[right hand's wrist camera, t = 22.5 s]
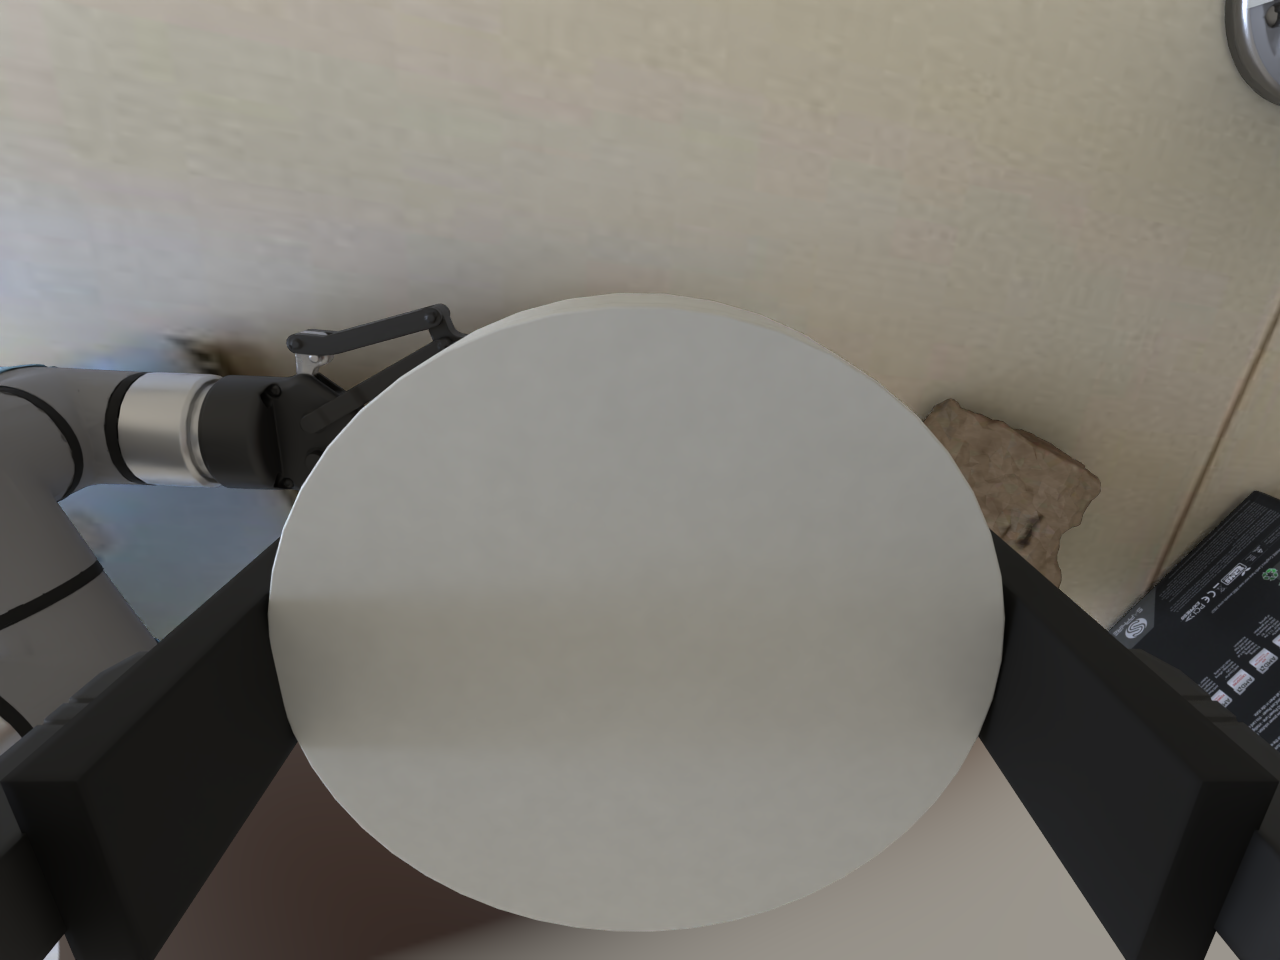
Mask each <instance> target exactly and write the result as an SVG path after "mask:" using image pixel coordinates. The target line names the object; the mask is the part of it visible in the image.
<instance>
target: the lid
mask: <svg viewBox="0 0 1280 960" xmlns="http://www.w3.org/2000/svg"><path fill="white" fill-rule="evenodd" d="M1004 626H1005V613H1004V601H1003V588H1002V576H1001V572H1000V568H999V564H998V560H997V556H996V551H995V547H994V543H993V539H992V535H991V532H990V530H989V527H988V525H987V523H986V520H985V518H984V515H983V513H982V511H981V508H980V506H979V504H978V501H977V499H976V497H975V494H974V492H973V490H972V489H971V487H970V485H969V484H968V482H967V481H966V479H965V477H964V476H963V474H962V473H961V471H960V469H959V468H958V466H957V465H956V463H955V461H954V460H953V458H952V457H951V455H950V453H949V452H948V451H947V449H946V448H945V447H944V446H943V445H942V444H941V443H940V441H939V440H938V439H937V438H936V437H935V436H934V434H933V433H932V432H931V431H930V430H929V429H928V428H927V426H926V425H925V424H924V423H923V422H922V421H921V419H920V418H919V417H918V416H917V415H916V414H915V413H914V412H913V411H912V410H910V409H909V408H908V407H907V406H906V405H905V404H903V403H902V402H901V401H900V400H899V399H897V398H896V397H895V396H894V395H893V394H892V393H890V392H889V391H888V390H887V389H886V388H885V387H883V386H882V385H881V384H880V383H879V382H878V381H876V380H875V379H873V378H872V377H870V376H869V375H867V374H866V373H864V372H863V371H861V370H860V369H858V368H857V367H855V366H854V365H852V364H851V363H849V362H848V361H846V360H845V359H843V358H841V357H840V356H838V355H837V354H835V353H834V352H832V351H830V350H829V349H827V348H826V347H824V346H822V345H821V344H819V343H818V342H816V341H814V340H813V339H811V338H810V337H808V336H806V335H805V334H803V333H801V332H799V331H797V330H794V329H792V328H790V327H788V326H785V325H783V324H781V323H779V322H776V321H774V320H772V319H770V318H767V317H765V316H763V315H761V314H758V313H754V312H751V311H748V310H744V309H741V308H737V307H734V306H730V305H727V304H723V303H720V302H716V301H713V300H706V299H699V298H692V297H685V296H678V295H671V294H665V293H611V294H603V295H596V296H588V297H580V298H572V299H565V300H561V301H558V302H554V303H550V304H547V305H543V306H539V307H535V308H532V309H528V310H524V311H521V312H518V313H515V314H513V315H511V316H508V317H506V318H504V319H501V320H499V321H497V322H494V323H492V324H489V325H487V326H485V327H482V328H480V329H478V330H475V331H474V332H472V333H470V334H469V335H467V336H465V337H464V338H462V339H460V340H459V341H457V342H455V343H454V344H452V345H450V346H449V347H447V348H445V349H444V350H442V351H441V352H439V353H437V354H436V355H434V356H432V357H431V358H429V359H428V360H426V361H425V362H423V363H422V364H420V365H418V366H417V367H415V368H414V369H412V370H411V371H409V372H408V373H406V374H404V375H403V376H401V377H400V378H399V379H398V380H396V381H395V382H394V383H393V384H391V385H390V386H389V387H388V388H387V389H385V390H384V391H383V392H382V393H380V394H379V395H378V396H377V397H376V398H374V399H373V400H372V401H371V402H370V403H368V404H367V405H366V406H365V407H363V408H362V409H361V410H360V411H359V412H358V413H357V414H356V416H355V417H354V418H353V419H352V420H351V421H350V422H349V423H348V424H347V426H346V427H345V428H344V429H343V430H342V431H341V432H340V433H339V434H338V436H337V437H336V438H335V439H334V440H333V441H332V442H331V443H330V444H329V446H328V447H327V448H326V450H325V451H324V453H323V454H322V456H321V457H320V459H319V461H318V462H317V464H316V465H315V467H314V468H313V470H312V471H311V473H310V474H309V476H308V477H307V479H306V481H305V482H304V484H303V485H302V487H301V489H300V491H299V494H298V496H297V498H296V500H295V503H294V505H293V507H292V509H291V512H290V514H289V516H288V518H287V521H286V523H285V525H284V527H283V531H282V534H281V538H280V542H279V546H278V550H277V553H276V557H275V561H274V565H273V569H272V575H271V585H270V596H269V606H268V627H269V638H270V644H271V649H272V654H273V658H274V662H275V667H276V671H277V676H278V680H279V685H280V689H281V693H282V698H283V702H284V707H285V710H286V714H287V718H288V721H289V723H290V726H291V729H292V731H293V733H294V735H295V737H296V739H297V741H298V742H299V744H300V746H301V748H302V750H303V752H304V754H305V755H306V757H307V759H308V761H309V763H310V765H311V766H312V768H313V769H314V771H315V772H316V773H317V775H318V776H319V777H320V779H321V780H322V782H323V783H324V784H325V786H326V787H327V788H328V790H329V791H330V793H331V794H332V795H333V797H334V798H335V799H336V800H337V801H338V803H339V804H340V805H341V806H342V807H343V808H344V809H345V810H346V811H347V812H348V813H349V814H350V815H351V816H352V817H353V818H354V820H355V821H356V822H357V823H358V824H359V825H360V826H361V827H362V828H363V829H364V830H365V831H367V832H368V833H369V834H370V835H372V836H373V837H374V838H375V839H376V840H377V841H379V842H380V843H381V844H382V845H383V846H385V847H386V848H387V849H388V850H389V851H390V852H392V853H393V854H395V855H396V856H398V857H399V858H400V859H402V860H403V861H405V862H406V863H408V864H409V865H411V866H412V867H414V868H416V869H417V870H418V871H420V872H421V873H423V874H424V875H426V876H428V877H430V878H432V879H434V880H436V881H437V882H439V883H441V884H443V885H445V886H447V887H449V888H451V889H453V890H455V891H456V892H458V893H460V894H463V895H465V896H468V897H470V898H473V899H475V900H478V901H480V902H483V903H485V904H488V905H490V906H493V907H495V908H498V909H501V910H505V911H508V912H511V913H515V914H518V915H522V916H525V917H528V918H532V919H535V920H540V921H545V922H550V923H556V924H561V925H566V926H572V927H578V928H588V929H598V930H608V931H663V930H675V929H687V928H696V927H702V926H707V925H713V924H718V923H724V922H729V921H734V920H738V919H741V918H745V917H748V916H752V915H756V914H759V913H763V912H766V911H770V910H773V909H775V908H778V907H781V906H783V905H786V904H788V903H791V902H793V901H796V900H799V899H801V898H804V897H806V896H809V895H811V894H813V893H815V892H817V891H819V890H821V889H822V888H824V887H826V886H828V885H830V884H832V883H834V882H836V881H838V880H840V879H842V878H844V877H846V876H847V875H849V874H850V873H852V872H853V871H855V870H856V869H858V868H859V867H861V866H863V865H864V864H866V863H867V862H869V861H870V860H872V859H873V858H875V857H876V856H878V855H879V854H880V853H881V852H883V851H884V850H885V849H886V848H887V847H889V846H890V845H891V844H892V843H894V842H895V841H896V840H897V839H898V838H900V837H901V836H902V835H903V834H905V833H906V832H907V831H908V830H909V829H910V828H911V827H912V826H913V825H914V824H915V823H916V822H917V821H918V820H919V819H920V818H921V817H922V816H923V815H924V813H925V812H926V811H927V810H928V809H929V808H930V807H931V806H932V805H933V804H934V803H935V802H936V801H937V799H938V798H939V796H940V795H941V794H942V793H943V791H944V790H945V789H946V787H947V786H948V785H949V783H950V782H951V781H952V779H953V778H954V777H955V775H956V774H957V772H958V771H959V770H960V768H961V766H962V764H963V762H964V761H965V759H966V757H967V755H968V754H969V752H970V750H971V748H972V747H973V745H974V743H975V741H976V739H977V738H978V736H979V733H980V730H981V728H982V725H983V723H984V720H985V718H986V715H987V713H988V710H989V708H990V705H991V702H992V700H993V696H994V692H995V687H996V683H997V679H998V674H999V670H1000V666H1001V662H1002V651H1003V638H1004Z"/></svg>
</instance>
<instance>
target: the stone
mask: <svg viewBox="0 0 1280 960" xmlns="http://www.w3.org/2000/svg"><path fill="white" fill-rule="evenodd" d="M923 423H924V424H925V425H926V426H927V428H928V429H929V430H930V431H931V432H932V433H933V434H934V436H935V437H936V438H937V439H938V440H939V441H940V443H941V444H942V445H943V446H944V447H945V448H946V449H947V451H948V452H949V453H950V455H951V457H952V458H953V460H954V461H955V463H956V465H957V466H958V468H959V469H960V471H961V473H962V474H963V476H964V477H965V479H966V481H967V482H968V484H969V485H970V487H971V489H972V490H973V492H974V494H975V497H976V499H977V501H978V504H979V506H980V508H981V511H982V513H983V515H984V518H985V520H986V523H987V525H988V527H989V528H990V529H991V530H992V531H993V532H994V533H995V534H997V535H998V536H999V537H1000V538H1001V539H1002V540H1004V541H1005V542H1006V543H1007V544H1008V545H1009V546H1010V547H1012V548H1013V549H1014V550H1015V551H1016V552H1017V553H1018V554H1020V555H1021V556H1022V557H1023V558H1024V559H1025V560H1026V561H1028V562H1029V563H1030V564H1031V565H1032V566H1033V567H1034V568H1036V569H1037V570H1038V571H1039V572H1040V573H1041V574H1042V575H1044V576H1045V577H1046V578H1047V579H1048V580H1049V581H1051V582H1052V583H1053V584H1054V585H1055V586H1056V587H1057V588H1059V586H1060V583H1061V570H1060V568H1059V566H1058V562H1057V553H1058V550H1059V542H1060V538H1061V535H1062V534H1063V533H1064V532H1066V531H1067V530H1069V529H1070V528H1072V527H1075V526H1078V525H1080V524H1081V520H1082V517H1083V513H1084V511H1085V510H1086V508H1087V507H1088V505H1089V504H1090V502H1091V501H1092V500H1093V499H1094V498H1095V497H1097V496H1098V494H1099V493H1100V492H1101V483H1100V481H1099V479H1098V477H1097V476H1095V475H1093V474H1092V473H1091V472H1089V471H1088V470H1087V469H1086V468H1085V465H1083V464H1082V463H1080V462H1078V461H1076V460H1074V459H1072V458H1071V457H1070V456H1068V455H1067V454H1065V453H1064V452H1062V451H1061V450H1060V449H1058V448H1056V447H1054V446H1053V445H1052V444H1051V443H1049V442H1047V441H1045V440H1043V439H1041V438H1038V437H1036V436H1035V435H1034V434H1032V433H1029V432H1026V431H1024V430H1019V429H1012V428H1011V427H1010V426H1008V425H1007V424H1006V423H1005V422H1003V421H999V420H992V419H990V418H988V417H986V416H984V415H982V414H976V413H973V412H971V411H969V410H966V409H963V408H961V407H960V405H959V403H958V402H957V401H955V400H954V399H952V398H951V399H948V400H945V401H944V402H942V403H940V404H938V405H935V406H934V408H933V409H932V412H931V413H930V414H929V415H928V416H927V418H926V419H925V421H924V422H923Z"/></svg>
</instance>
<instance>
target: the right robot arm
mask: <svg viewBox="0 0 1280 960" xmlns="http://www.w3.org/2000/svg"><path fill="white" fill-rule="evenodd" d="M1225 25H1226V35H1227V40H1228V45H1229V49H1230V52H1231V55H1232V58H1233V60H1234V63H1235V65H1236V67H1237V69H1238V71H1239V72H1240V74H1241V76H1242V77H1243V79H1244V80H1245V81H1246V83H1247V84H1248V85H1249V86H1250V87H1251V88H1252V89H1253V90H1254V91H1255V92H1256V93H1258V94H1259V95H1260V96H1262V97H1263V98H1265V99H1266V100H1268V101H1270V102H1272V103H1274V104H1277V105H1279V106H1280V0H1226V5H1225ZM989 530H990V532H991V535H992V539H993V543H994V547H995V551H996V556H997V560H998V564H999V568H1000V572H1001V576H1002V588H1003V601H1004V613H1005V626H1004V638H1003V651H1002V662H1001V666H1000V670H999V674H998V679H997V683H996V687H995V692H994V696H993V700H992V702H991V705H990V708H989V710H988V713H987V715H986V718H985V720H984V723H983V725H982V728H981V730H980V733H979V738H980V739H981V741H982V742H983V744H984V745H985V747H986V749H987V750H988V752H989V753H990V755H991V756H992V758H993V759H994V761H995V762H996V764H997V765H998V767H999V768H1000V770H1001V771H1002V773H1003V774H1004V776H1005V777H1006V779H1007V780H1008V782H1009V783H1010V785H1011V786H1012V788H1013V789H1014V791H1015V793H1016V794H1017V795H1018V797H1019V799H1020V800H1021V802H1022V803H1023V805H1024V806H1025V808H1026V809H1027V811H1028V812H1029V814H1030V815H1031V817H1032V818H1033V820H1034V821H1035V823H1036V824H1037V826H1038V827H1039V829H1040V830H1041V832H1042V833H1043V835H1044V837H1045V838H1046V839H1047V841H1048V843H1049V844H1050V845H1051V847H1052V849H1053V850H1054V852H1055V853H1056V855H1057V856H1058V858H1059V859H1060V861H1061V862H1062V864H1063V865H1064V867H1065V868H1066V870H1067V871H1068V873H1069V874H1070V876H1071V877H1072V879H1073V880H1074V882H1075V884H1076V885H1077V887H1078V888H1079V890H1080V891H1081V893H1082V894H1083V896H1084V897H1085V899H1086V900H1087V902H1088V903H1089V905H1090V906H1091V908H1092V909H1093V911H1094V912H1095V914H1096V915H1097V917H1098V918H1099V920H1100V921H1101V923H1102V924H1103V926H1104V927H1105V929H1106V931H1107V932H1108V933H1109V935H1110V937H1111V938H1112V940H1113V941H1114V943H1115V944H1116V946H1117V947H1118V949H1119V950H1120V952H1121V953H1122V955H1123V956H1124V958H1125V959H1126V960H1204V958H1205V956H1206V953H1207V951H1208V949H1209V946H1210V944H1211V942H1212V939H1213V937H1214V935H1215V932H1216V931H1217V932H1218V934H1219V935H1220V936H1221V937H1222V939H1223V940H1224V941H1225V942H1226V943H1227V945H1228V946H1229V947H1230V948H1231V950H1232V951H1233V952H1234V953H1235V955H1236V956H1237V957H1238V958H1239V959H1240V960H1280V752H1279V751H1277V750H1276V749H1275V748H1274V747H1273V746H1271V745H1270V744H1269V743H1268V742H1267V741H1265V740H1264V739H1263V738H1262V737H1260V736H1259V735H1258V734H1257V733H1256V732H1254V731H1253V730H1252V729H1251V728H1250V727H1248V726H1247V725H1246V724H1245V723H1244V722H1238V721H1237V719H1236V716H1235V715H1234V714H1233V713H1231V712H1230V711H1229V710H1228V709H1227V708H1225V707H1224V706H1223V705H1222V704H1221V703H1219V702H1218V701H1212V700H1211V695H1210V694H1208V693H1207V692H1206V691H1205V690H1204V689H1202V688H1201V687H1200V686H1199V685H1198V684H1196V683H1195V682H1194V681H1193V680H1192V679H1190V678H1189V677H1188V676H1187V675H1185V674H1184V673H1183V672H1182V671H1181V670H1179V669H1177V668H1175V667H1173V666H1171V665H1170V664H1168V663H1166V662H1164V661H1162V660H1160V659H1158V658H1157V657H1155V656H1153V655H1151V654H1149V653H1147V652H1145V651H1144V650H1142V649H1127V648H1126V647H1125V646H1124V645H1123V644H1122V643H1120V642H1119V641H1118V640H1117V639H1116V638H1115V637H1114V636H1112V635H1111V634H1110V633H1109V632H1108V631H1107V630H1106V629H1104V628H1103V627H1102V626H1101V625H1100V624H1099V623H1098V622H1096V621H1095V620H1094V619H1093V618H1092V617H1091V616H1089V615H1088V614H1087V613H1086V612H1085V611H1084V610H1083V609H1081V608H1080V607H1079V606H1078V605H1077V604H1076V603H1075V602H1073V601H1072V600H1071V599H1070V598H1069V597H1068V596H1067V595H1065V594H1064V593H1063V592H1062V591H1061V590H1060V589H1059V588H1057V587H1056V586H1055V585H1054V584H1053V583H1052V582H1051V581H1049V580H1048V579H1047V578H1046V577H1045V576H1044V575H1042V574H1041V573H1040V572H1039V571H1038V570H1037V569H1036V568H1034V567H1033V566H1032V565H1031V564H1030V563H1029V562H1028V561H1026V560H1025V559H1024V558H1023V557H1022V556H1021V555H1020V554H1018V553H1017V552H1016V551H1015V550H1014V549H1013V548H1012V547H1010V546H1009V545H1008V544H1007V543H1006V542H1005V541H1004V540H1002V539H1001V538H1000V537H999V536H998V535H997V534H995V533H994V532H993V531H992V530H991V529H990V528H989ZM280 538H281V537H279V538H278V539H277V540H276V541H275V542H274V543H273V544H271V545H270V546H269V547H268V548H267V549H266V550H265V551H263V552H262V553H261V554H260V555H259V556H258V557H257V558H255V559H254V560H253V561H252V562H251V563H250V564H248V565H247V566H246V567H245V568H244V569H243V570H242V571H240V572H239V573H238V574H237V575H236V576H235V577H234V578H232V579H231V580H230V581H229V582H228V583H227V584H226V585H224V586H223V587H222V588H221V589H220V590H219V591H218V592H216V593H215V594H214V595H213V596H212V597H211V598H209V599H208V600H207V601H206V602H205V603H204V604H203V605H201V606H200V607H199V608H198V609H197V610H196V611H195V612H193V613H192V614H191V615H190V616H189V617H188V618H187V619H185V620H184V621H183V622H182V623H181V624H180V625H179V626H177V627H176V628H175V629H174V630H173V631H172V632H171V633H169V634H168V635H167V636H166V637H165V638H164V639H162V640H161V641H160V642H159V643H158V644H157V645H156V646H154V647H153V648H152V649H151V650H150V651H139V652H137V653H136V654H134V655H132V656H130V657H128V658H126V659H124V660H123V661H121V662H119V663H117V664H115V665H113V666H112V667H110V668H108V669H106V670H104V671H102V672H100V673H99V674H98V675H97V676H95V677H94V678H93V679H92V680H91V681H89V682H88V683H87V684H86V685H85V686H83V687H82V688H81V689H80V690H79V691H77V692H76V693H75V694H74V695H73V696H71V697H70V698H69V699H70V700H69V703H63V704H62V705H61V706H59V707H58V708H57V709H56V710H55V711H53V712H52V713H51V714H50V715H49V716H47V717H46V718H45V719H44V723H43V725H37V726H35V727H34V728H33V729H32V730H31V731H29V732H28V733H27V734H26V735H25V736H23V737H22V738H21V739H20V740H19V741H17V742H16V743H15V744H14V745H13V746H11V747H10V748H9V749H8V750H7V751H5V752H4V753H3V754H2V755H0V960H43V959H44V958H45V957H46V956H47V954H48V953H49V952H50V951H51V949H52V948H53V947H54V946H55V944H56V943H57V942H58V941H59V940H60V938H61V937H62V936H63V935H64V934H65V936H66V939H67V941H68V943H69V946H70V948H71V950H72V953H73V955H74V957H75V960H154V959H155V957H156V956H157V954H158V952H159V951H160V949H161V948H162V946H163V945H164V943H165V942H166V940H167V939H168V937H169V936H170V934H171V933H172V931H173V930H174V928H175V927H176V925H177V924H178V922H179V921H180V919H181V918H182V916H183V915H184V913H185V912H186V910H187V909H188V907H189V906H190V904H191V903H192V901H193V899H194V898H195V896H196V895H197V893H198V892H199V890H200V889H201V887H202V886H203V884H204V883H205V881H206V880H207V878H208V877H209V875H210V874H211V872H212V871H213V869H214V868H215V866H216V865H217V863H218V862H219V860H220V859H221V857H222V855H223V854H224V852H225V851H226V849H227V848H228V846H229V845H230V843H231V842H232V840H233V839H234V837H235V836H236V834H237V833H238V831H239V830H240V828H241V827H242V825H243V824H244V822H245V821H246V819H247V818H248V816H249V815H250V813H251V812H252V810H253V809H254V807H255V806H256V804H257V802H258V801H259V799H260V798H261V796H262V795H263V793H264V792H265V790H266V789H267V787H268V786H269V784H270V783H271V781H272V780H273V778H274V777H275V775H276V774H277V772H278V771H279V769H280V768H281V766H282V765H283V763H284V762H285V760H286V759H287V757H288V755H289V754H290V752H291V751H292V749H293V748H294V746H295V745H296V743H297V742H298V741H297V739H296V737H295V735H294V733H293V731H292V729H291V726H290V723H289V721H288V718H287V714H286V710H285V707H284V702H283V698H282V693H281V689H280V685H279V680H278V676H277V671H276V667H275V662H274V658H273V654H272V649H271V644H270V638H269V627H268V606H269V596H270V585H271V575H272V569H273V565H274V561H275V557H276V553H277V550H278V546H279V542H280Z"/></svg>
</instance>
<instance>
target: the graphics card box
mask: <svg viewBox="0 0 1280 960" xmlns="http://www.w3.org/2000/svg"><path fill="white" fill-rule="evenodd" d="M1109 633H1110V634H1111V635H1112V636H1114V637H1115V638H1116V639H1117V640H1118V641H1119V642H1120V643H1122V644H1123V645H1124V646H1125V647H1126V648H1127V649H1142V650H1144V651H1145V652H1147V653H1149V654H1151V655H1153V656H1155V657H1157V658H1158V659H1160V660H1162V661H1164V662H1166V663H1168V664H1170V665H1171V666H1173V667H1175V668H1177V669H1179V670H1181V671H1182V672H1183V673H1184V674H1185V675H1187V676H1188V677H1189V678H1190V679H1192V680H1193V681H1194V682H1195V683H1196V684H1198V685H1199V686H1200V687H1201V688H1202V689H1204V690H1205V691H1206V692H1207V693H1208V694H1210V695H1211V700H1212V701H1218V702H1219V703H1221V704H1222V705H1223V706H1224V707H1225V708H1227V709H1228V710H1229V711H1230V712H1231V713H1233V714H1234V715H1235V716H1236V719H1237V721H1238V722H1244V723H1245V724H1246V725H1247V726H1248V727H1250V728H1251V729H1252V730H1253V731H1254V732H1256V733H1257V734H1258V735H1259V736H1260V737H1262V738H1263V739H1264V740H1265V741H1267V742H1268V743H1269V744H1270V745H1271V746H1273V747H1274V748H1275V749H1276V750H1277V751H1279V752H1280V500H1279V499H1277V498H1274V497H1272V496H1270V495H1267V494H1265V493H1262V492H1259V491H1253V492H1252V493H1251V494H1250V496H1248V497H1247V498H1246V499H1245V500H1244V501H1243V502H1242V503H1241V504H1240V505H1239V506H1238V507H1237V508H1236V509H1235V510H1234V511H1233V512H1232V513H1231V514H1230V515H1229V516H1227V517H1226V519H1225V520H1224V521H1222V523H1221V524H1220V525H1218V526H1217V527H1216V528H1215V529H1214V530H1213V531H1212V532H1211V533H1210V534H1209V535H1208V536H1207V537H1206V538H1205V539H1204V540H1203V541H1202V542H1201V543H1200V544H1199V545H1198V546H1197V547H1196V548H1194V549H1193V551H1192V552H1190V553H1189V555H1187V556H1186V557H1185V558H1184V559H1183V560H1182V561H1181V562H1180V563H1179V564H1178V565H1177V566H1176V567H1175V568H1174V569H1173V570H1172V571H1171V572H1170V573H1169V574H1168V575H1166V576H1165V578H1163V579H1162V580H1161V581H1160V583H1159V584H1157V585H1156V587H1154V588H1153V589H1152V590H1151V591H1150V592H1149V593H1148V594H1147V595H1146V596H1145V597H1144V598H1143V599H1142V600H1141V601H1140V602H1139V603H1138V604H1137V605H1136V606H1134V608H1132V609H1131V610H1130V611H1129V612H1128V613H1127V614H1126V616H1124V617H1123V618H1122V619H1121V620H1120V621H1119V622H1118V623H1117V624H1116V625H1115V626H1114V627H1113V628H1111V630H1110V631H1109Z"/></svg>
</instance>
